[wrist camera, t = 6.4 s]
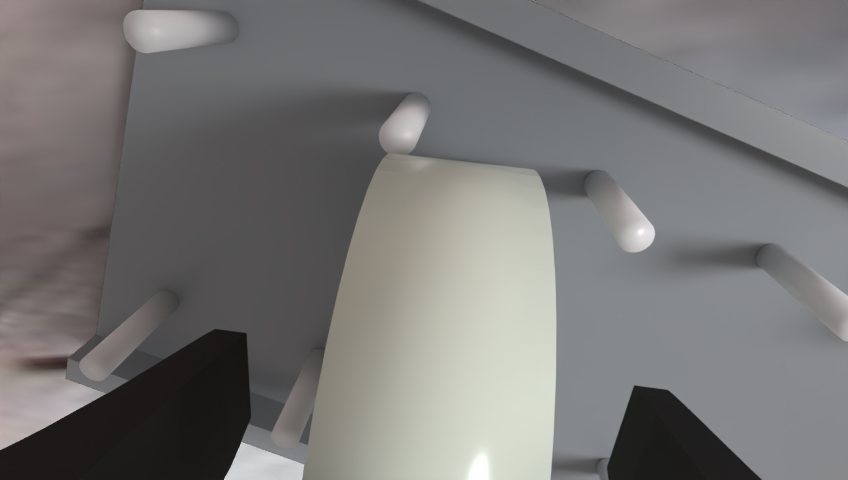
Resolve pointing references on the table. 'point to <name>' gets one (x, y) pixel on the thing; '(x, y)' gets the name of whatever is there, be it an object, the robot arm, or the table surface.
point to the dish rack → (489, 144)
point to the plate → (441, 330)
